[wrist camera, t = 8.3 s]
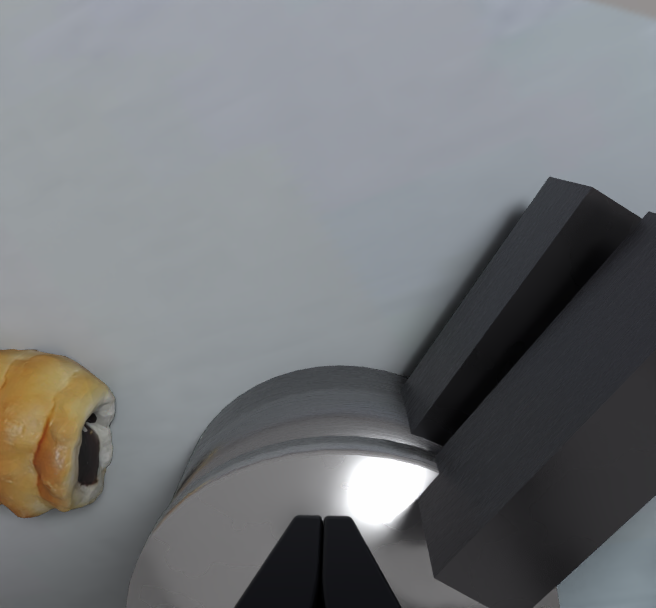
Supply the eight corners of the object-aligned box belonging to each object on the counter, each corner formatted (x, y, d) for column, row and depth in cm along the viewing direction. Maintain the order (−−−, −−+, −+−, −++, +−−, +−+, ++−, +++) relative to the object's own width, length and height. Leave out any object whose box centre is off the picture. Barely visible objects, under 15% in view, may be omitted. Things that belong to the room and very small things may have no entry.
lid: (861, 375, 14) (1034, 457, 11) (388, 787, 21) (398, 923, 18) (463, 72, 12) (515, 51, 8) (71, 646, 19) (8, 769, 15)
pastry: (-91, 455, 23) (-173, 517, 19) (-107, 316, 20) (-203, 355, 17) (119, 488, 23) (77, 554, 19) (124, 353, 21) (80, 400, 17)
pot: (714, 285, 19) (838, 338, 14) (356, 696, 27) (360, 817, 22) (398, 87, 17) (421, 72, 12) (111, 594, 25) (57, 704, 20)
